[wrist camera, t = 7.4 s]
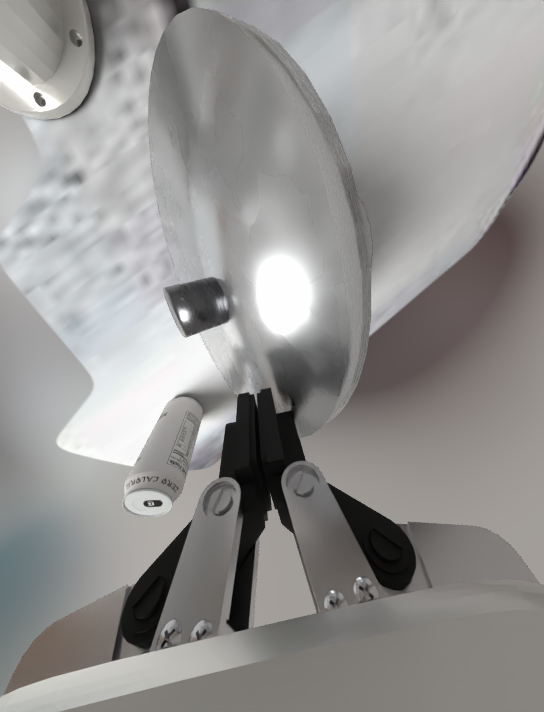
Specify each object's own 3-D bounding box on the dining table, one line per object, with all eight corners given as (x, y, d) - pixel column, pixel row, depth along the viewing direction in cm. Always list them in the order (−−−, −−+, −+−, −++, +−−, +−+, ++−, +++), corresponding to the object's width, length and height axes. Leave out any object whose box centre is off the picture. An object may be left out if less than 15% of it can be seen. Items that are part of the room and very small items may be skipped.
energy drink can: (165, 392, 33) (109, 488, 19) (203, 394, 34) (176, 485, 20) (168, 421, 35) (121, 522, 22) (204, 421, 36) (180, 518, 23)
